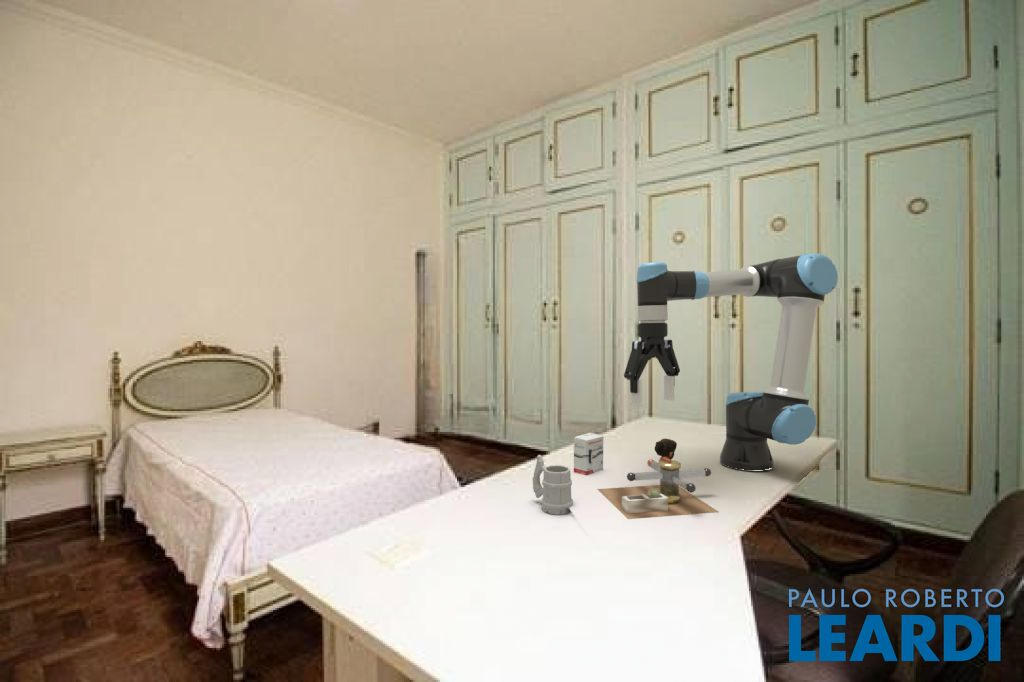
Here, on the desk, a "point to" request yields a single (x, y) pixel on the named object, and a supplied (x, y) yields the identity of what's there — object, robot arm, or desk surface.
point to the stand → (653, 502)
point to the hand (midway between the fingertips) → (653, 402)
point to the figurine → (665, 448)
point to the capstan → (669, 478)
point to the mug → (553, 487)
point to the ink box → (588, 453)
